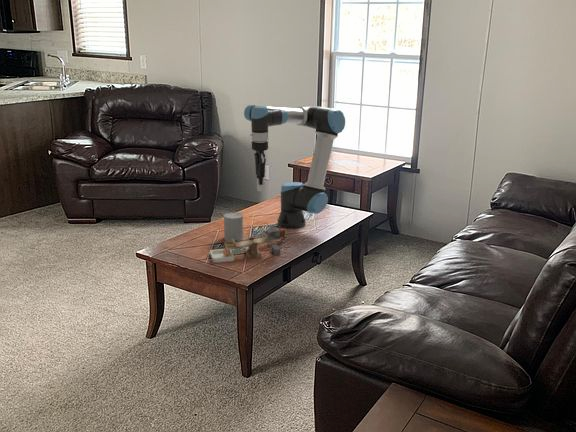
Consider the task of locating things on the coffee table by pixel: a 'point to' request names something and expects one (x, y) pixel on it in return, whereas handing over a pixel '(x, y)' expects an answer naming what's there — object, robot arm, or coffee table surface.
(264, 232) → the bull figurine
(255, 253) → the fulcrum
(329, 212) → the coffee table surface
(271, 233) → the lever
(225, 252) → the ball
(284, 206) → the robot arm
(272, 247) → the block
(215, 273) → the coffee table surface
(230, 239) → the grey metal can
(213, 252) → the dish
